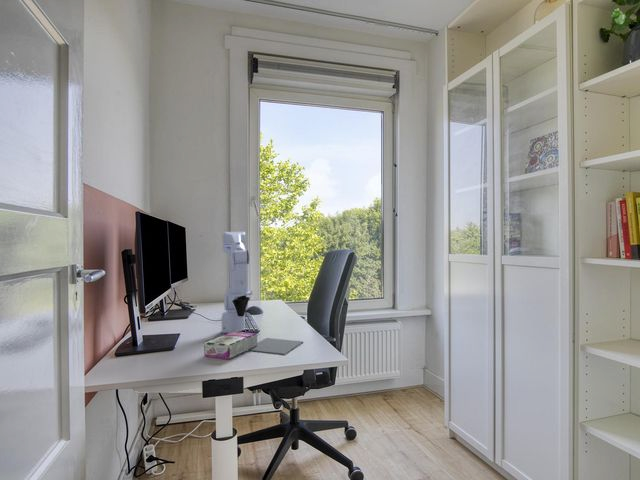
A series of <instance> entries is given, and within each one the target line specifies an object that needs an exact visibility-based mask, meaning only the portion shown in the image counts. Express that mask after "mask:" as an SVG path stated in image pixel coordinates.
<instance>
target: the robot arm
mask: <svg viewBox="0 0 640 480" xmlns="http://www.w3.org/2000/svg"><path fill="white" fill-rule="evenodd" d="M221 236H222V239H221V240H222V241H221V242H222V249H223V252H224V253H226V254H227V256H228V264H229V267H228V268H229V284H230V288H229V289H228V290H227V291H225V293H224V297H223V298H224V299H223V307H224V311H223V312H222V314H221V331H220V333H222V334H228V333H231V332H239V331H242V330H244V329H246V320H245V319H246V318H245V317H246V315H245V314H246V311H247V309H248V308H249V301H250V297H249V296H252V295H253V289H249V266H248V265H249V264H250V252H249V249H246V242H247V241H246V236H247V235H246V232H245V231H243V230H242V231H222V235H221Z"/></svg>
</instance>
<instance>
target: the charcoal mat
mask: <svg viewBox="0 0 640 480" xmlns="http://www.w3.org/2000/svg"><path fill="white" fill-rule="evenodd" d="M303 343H304V341H302V340H294V339H293V340H292V339H282V338H281V339H280V338H272V337H266V338H263V339H262V340H260V341H257V346H255V347H253V348H251V349H249V350H247V351H248V352H255V353H263V354H264V353H266V354H275V355H281V356H286V355H288V354H289V353H290V352H292V351H293V350H295V349H297V348H298V347H299V346H300V345H302V344H303Z"/></svg>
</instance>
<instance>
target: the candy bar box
mask: <svg viewBox="0 0 640 480" xmlns="http://www.w3.org/2000/svg"><path fill="white" fill-rule="evenodd" d="M257 343H258V333H256V332H247V331H245V332H231V333H225V334H222V335H221V336H218V337H215V338H213V339H210V340H208V341H206V342H203V348H204V349H203V350H204V353H203V354H204V357H210V358H211V357H212V358H220V359H228V360H229V359H232V358H233V357H236V356H238V355H241V354H242V353H245V352H246V351H247V350H249V349H251V348H253V347H255V346H257Z"/></svg>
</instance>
